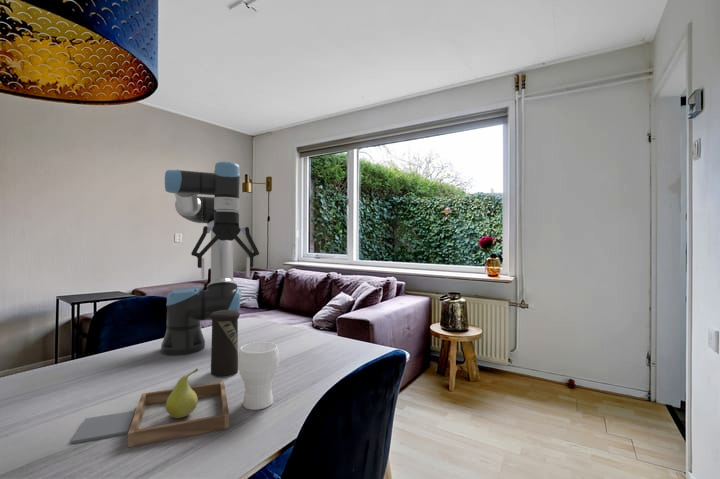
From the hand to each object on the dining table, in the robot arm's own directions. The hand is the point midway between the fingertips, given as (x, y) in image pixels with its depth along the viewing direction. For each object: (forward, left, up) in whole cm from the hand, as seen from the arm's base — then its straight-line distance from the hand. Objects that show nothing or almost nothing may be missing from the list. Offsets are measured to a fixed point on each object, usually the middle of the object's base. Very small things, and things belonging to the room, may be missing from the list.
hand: (225, 277), depth 114 cm
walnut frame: (+25, -11, -31) cm, 41 cm away
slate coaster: (+24, -27, -31) cm, 47 cm away
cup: (+25, +7, -31) cm, 40 cm away
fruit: (+25, -11, -31) cm, 41 cm away
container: (0, 0, -31) cm, 31 cm away
